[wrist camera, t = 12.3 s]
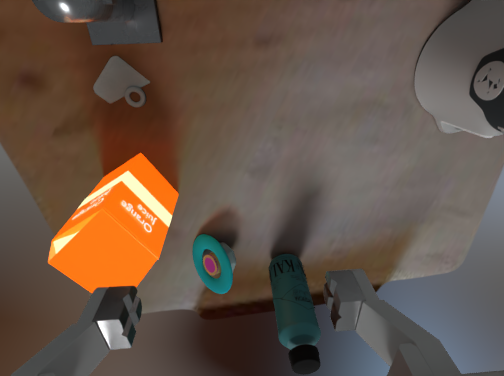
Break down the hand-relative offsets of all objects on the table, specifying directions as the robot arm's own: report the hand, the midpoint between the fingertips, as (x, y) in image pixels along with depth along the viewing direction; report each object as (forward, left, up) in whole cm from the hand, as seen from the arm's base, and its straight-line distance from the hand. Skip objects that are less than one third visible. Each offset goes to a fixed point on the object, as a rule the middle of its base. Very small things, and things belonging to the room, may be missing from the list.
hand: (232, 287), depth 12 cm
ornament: (+5, +26, -31) cm, 41 cm away
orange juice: (+15, +12, -31) cm, 37 cm away
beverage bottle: (-8, +30, -31) cm, 44 cm away
